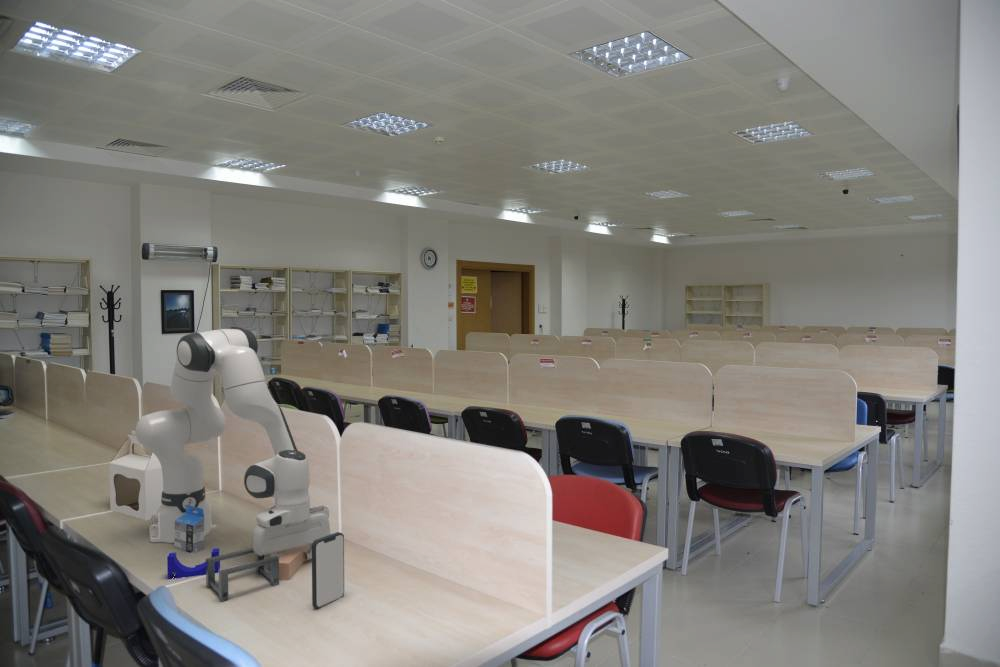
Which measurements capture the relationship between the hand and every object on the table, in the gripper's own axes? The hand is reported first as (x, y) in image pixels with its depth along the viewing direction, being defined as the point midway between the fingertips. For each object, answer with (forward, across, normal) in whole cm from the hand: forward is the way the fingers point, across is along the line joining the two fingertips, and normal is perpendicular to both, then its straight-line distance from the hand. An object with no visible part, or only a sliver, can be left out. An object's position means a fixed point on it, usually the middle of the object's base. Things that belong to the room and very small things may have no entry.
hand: (293, 563), depth 172 cm
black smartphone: (+2, +2, +25) cm, 25 cm away
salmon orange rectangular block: (+2, 0, 0) cm, 2 cm away
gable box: (+2, +18, -80) cm, 82 cm away
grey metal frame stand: (+2, +14, +2) cm, 14 cm away
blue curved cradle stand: (+2, +21, -14) cm, 25 cm away
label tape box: (+2, +17, -33) cm, 37 cm away
